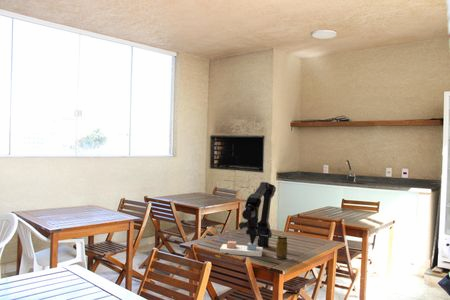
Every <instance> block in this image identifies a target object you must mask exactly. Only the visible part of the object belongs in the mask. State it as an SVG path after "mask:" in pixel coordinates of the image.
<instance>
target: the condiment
mask: <svg viewBox="0 0 450 300" xmlns="http://www.w3.org/2000/svg"><path fill="white" fill-rule="evenodd" d="M275 252H276V253H275V256H273V257H272V258H275V259H278V260H282V261H290V260H292V259H293V258H292V257H288V237H287V236H284V235H279V236H277V241H276V250H275Z"/></svg>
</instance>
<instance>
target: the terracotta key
mask: <svg viewBox="0 0 450 300" xmlns="http://www.w3.org/2000/svg"><path fill="white" fill-rule="evenodd" d="M226 244H227V248H234V249H236V245H237V241H236V240H235V241H233V240H228V241H227V243H226Z"/></svg>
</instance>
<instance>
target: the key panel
mask: <svg viewBox="0 0 450 300" xmlns="http://www.w3.org/2000/svg"><path fill="white" fill-rule="evenodd" d="M263 250H264V247H258V246H256V250H247V245H243V244H242V245H241V244H236V249H234V248H227V243H222V245H221V247H220V248H219V253H220V252H224V253H223V254H225V253H229V254H228V255H236V256H237V255H239V256H249V257H262V255H263Z"/></svg>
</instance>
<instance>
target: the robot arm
mask: <svg viewBox="0 0 450 300" xmlns="http://www.w3.org/2000/svg"><path fill="white" fill-rule="evenodd" d="M276 189H277V188H276V186H275V185H274V184H271V183H269V182H267V181H261V182H260V184H259V186H258V187H257V188H256V190H255V192H253V193H251V194H249V196H247V199H246V201H245V205H244V208H245V209H243V212H242V213H241V215H242V218H243V219H244V220H246V221H240V222H238V228H239V230H243V229H246V230H245V231H246V232H245V234H246V235H249V239H250V243H251V244H253V243H255V240H256V238H257V237H258V238H257V247H263V248H269V247H270V243H269V242H270V239H271V238H272V236H273V235H272V230H271V225H270V223H269V217H270V209H271V201H272V199H273V197H274V196H275V193H276ZM262 197H263V201H262ZM262 202H263V203H262ZM261 204H262V209H261V217H260V220H259V210H260V207H261Z"/></svg>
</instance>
